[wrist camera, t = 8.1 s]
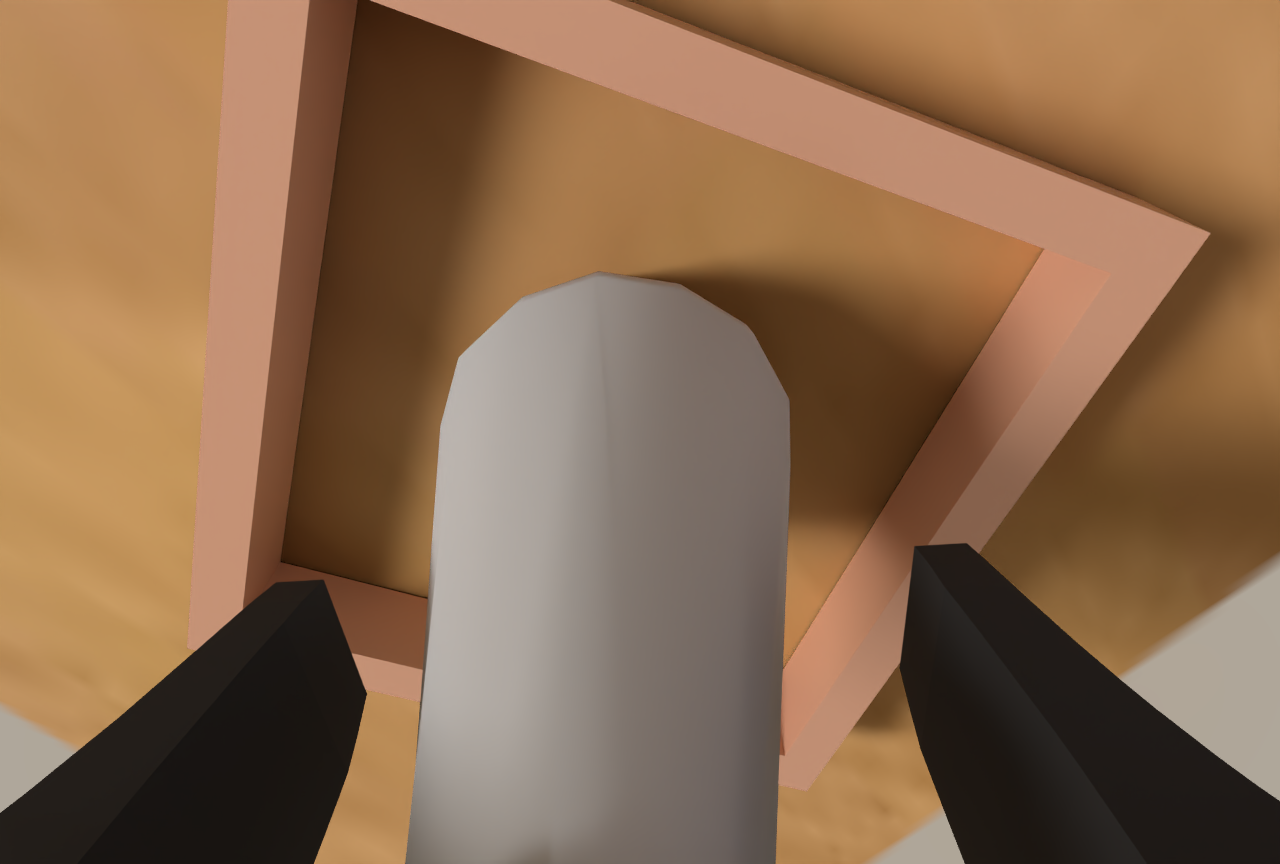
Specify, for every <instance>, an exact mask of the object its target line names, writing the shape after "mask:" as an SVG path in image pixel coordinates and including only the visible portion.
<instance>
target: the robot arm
mask: <svg viewBox="0 0 1280 864" xmlns="http://www.w3.org/2000/svg"><path fill="white" fill-rule="evenodd" d="M900 671H901V675H902V679H903V683H904V687H905V691H906V695H907V699H908V703H909V707H910V711H911V715H912V719H913V722H914V726H915V730H916V734H917V737H918V741H919V745H920V748H921V751H922V754H923V756H924V759H925V762H926V764H927V767H928V770H929V772H930V775H931V778H932V780H933V783H934V785H935V788H936V791H937V793H938V796H939V798H940V801H941V804H942V806H943V809H944V811H945V814H946V817H947V819H948V822H949V824H950V827H951V829H952V832H953V834H954V837H955V840H956V842H957V845H958V847H959V850H960V852H961V855H962V858H963V860H964V863H965V864H1280V801H1279V800H1277V799H1276V798H1274V797H1273V796H1271V795H1270V794H1268V793H1267V792H1266V791H1264V790H1263V789H1261V788H1260V787H1258V786H1257V785H1256V784H1254V783H1253V782H1252V781H1250V780H1249V779H1247V778H1246V777H1245V776H1243V775H1242V774H1241V773H1239V772H1238V771H1237V770H1235V769H1234V768H1232V767H1231V766H1230V765H1228V764H1227V763H1225V762H1224V761H1223V760H1222V759H1220V758H1219V757H1218V756H1216V755H1215V754H1214V753H1212V752H1211V751H1210V750H1208V749H1207V748H1206V747H1205V746H1203V745H1202V744H1201V743H1199V742H1198V741H1197V740H1196V739H1194V738H1193V737H1192V736H1190V735H1189V734H1188V733H1186V732H1185V731H1184V730H1183V729H1181V728H1180V727H1179V726H1177V725H1176V724H1175V723H1174V722H1172V721H1171V720H1169V719H1168V718H1167V717H1166V716H1165V715H1163V714H1162V713H1161V712H1159V711H1158V710H1156V709H1155V708H1154V707H1153V706H1152V705H1150V704H1149V703H1148V702H1147V701H1146V700H1144V699H1143V698H1142V697H1141V696H1140V695H1138V694H1137V693H1136V692H1135V691H1133V690H1132V689H1131V688H1130V687H1129V686H1127V685H1126V684H1125V683H1124V682H1122V681H1121V680H1120V679H1119V678H1118V677H1117V676H1115V675H1114V674H1113V673H1112V672H1111V671H1110V670H1108V669H1107V668H1106V667H1105V666H1104V665H1103V664H1101V663H1100V662H1099V661H1098V660H1097V659H1096V658H1094V657H1093V656H1092V655H1091V654H1090V653H1088V652H1087V651H1086V650H1085V649H1084V648H1083V647H1081V646H1080V645H1079V644H1078V643H1077V642H1076V641H1075V640H1073V639H1072V638H1071V637H1070V636H1069V635H1068V634H1067V633H1066V632H1064V631H1063V630H1062V629H1061V628H1060V627H1059V626H1058V625H1056V624H1055V623H1054V622H1053V621H1052V620H1051V619H1050V618H1049V617H1048V616H1047V615H1045V614H1044V613H1043V612H1042V611H1041V610H1040V609H1039V608H1038V607H1037V606H1035V605H1034V604H1033V603H1032V602H1031V601H1030V600H1029V599H1028V598H1027V597H1026V596H1024V595H1023V594H1022V593H1021V592H1020V591H1019V590H1018V589H1017V588H1016V587H1015V586H1013V585H1012V584H1011V583H1010V582H1009V581H1008V580H1007V579H1006V578H1005V577H1004V576H1003V575H1001V574H1000V573H999V572H998V571H997V570H996V569H995V568H994V567H993V566H992V565H991V564H989V563H988V562H987V561H986V560H985V559H984V558H983V557H982V556H981V555H980V554H978V553H977V552H976V551H975V550H974V549H973V548H972V547H971V546H970V545H968V544H967V543H958V544H940V545H923V546H914V553H913V562H912V570H911V578H910V586H909V595H908V603H907V611H906V619H905V627H904V636H903V644H902V652H901V660H900ZM366 696H367V693H366V690H365V687H364V685H363V682H362V679H361V677H360V674H359V671H358V669H357V666H356V663H355V661H354V658H353V656H352V653H351V650H350V648H349V645H348V642H347V640H346V637H345V634H344V632H343V629H342V626H341V624H340V621H339V618H338V616H337V613H336V611H335V608H334V605H333V603H332V600H331V597H330V595H329V592H328V589H327V587H326V584H325V581H324V580H307V581H289V582H276V583H275V584H273V585H272V586H271V587H270V588H268V589H267V590H266V591H264V592H263V593H262V594H261V595H260V596H258V597H257V598H256V599H255V600H253V601H252V602H251V603H250V604H249V605H248V606H246V607H245V608H244V609H243V610H242V611H241V612H239V613H238V614H237V615H236V616H235V617H234V618H233V619H231V620H230V621H229V622H228V623H227V624H226V625H224V626H223V627H222V628H221V629H220V630H219V631H218V632H217V633H215V634H214V635H213V636H212V637H211V638H210V639H209V640H207V641H206V642H205V643H204V644H203V645H202V646H201V647H200V648H198V649H197V650H196V651H195V652H194V653H193V654H192V655H190V656H189V657H188V658H187V659H186V660H185V661H184V662H182V663H181V664H180V665H179V666H178V667H177V668H176V669H174V670H173V671H172V672H171V673H170V674H169V675H167V676H166V677H165V678H164V679H163V680H162V681H161V682H159V683H158V684H157V685H156V686H155V687H154V688H152V689H151V690H150V691H149V692H148V693H147V694H146V695H144V696H143V697H142V698H141V699H140V700H139V701H137V702H136V703H135V704H134V705H133V706H132V707H131V708H129V709H128V710H127V711H126V712H125V713H124V714H122V715H121V716H120V717H119V718H118V719H117V720H115V721H114V722H113V723H112V724H110V725H109V726H108V727H107V728H105V729H104V730H103V731H102V732H101V733H99V734H98V735H97V736H96V737H94V738H93V739H92V740H91V741H89V742H88V743H87V744H86V745H85V746H83V747H82V748H81V749H80V750H78V751H77V752H76V753H75V754H73V755H72V756H71V757H70V758H69V759H67V760H66V761H65V762H64V763H62V764H61V765H60V766H59V767H58V768H56V769H55V770H54V771H53V772H51V773H50V774H49V775H48V776H46V777H45V778H44V779H43V780H42V781H40V782H39V783H38V784H37V785H35V786H34V787H33V788H32V789H30V790H29V791H28V792H27V793H26V794H24V795H23V796H22V797H20V798H19V799H18V800H16V801H15V802H14V803H13V804H11V805H10V806H9V807H7V808H6V809H5V810H3V811H2V812H1V813H0V864H314V862H315V859H316V856H317V854H318V851H319V849H320V846H321V843H322V841H323V838H324V836H325V833H326V830H327V828H328V825H329V822H330V820H331V817H332V814H333V812H334V809H335V806H336V804H337V801H338V798H339V796H340V793H341V790H342V787H343V785H344V782H345V779H346V776H347V774H348V770H349V766H350V762H351V758H352V755H353V751H354V747H355V743H356V739H357V735H358V731H359V726H360V722H361V718H362V713H363V709H364V704H365V700H366Z"/></svg>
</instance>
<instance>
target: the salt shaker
mask: <svg viewBox="0 0 1280 864" xmlns="http://www.w3.org/2000/svg"><path fill="white" fill-rule="evenodd" d="M789 493H790V400H789V398H788V396H787V394H786V392H785V391H784V389H783V387H782V385H781V383H780V381H779V379H778V378H777V376H776V374H775V372H774V370H773V368H772V366H771V365H770V363H769V361H768V359H767V357H766V355H765V353H764V352H763V350H762V348H761V346H760V344H759V342H758V340H757V339H756V337H755V335H754V333H753V332H752V331H751V330H750V329H749V327H748V326H747V325H746V324H745V323H743V322H742V321H740V320H738V319H737V318H735V317H733V316H732V315H730V314H728V313H727V312H725V311H723V310H722V309H720V308H719V307H717V306H715V305H714V304H712V303H710V302H709V301H707V300H705V299H704V298H702V297H700V296H699V295H697V294H696V293H694V292H692V291H691V290H689V289H687V288H686V287H684V286H682V285H681V284H678V283H671V282H665V281H658V280H652V279H646V278H639V277H633V276H626V275H620V274H614V273H607V272H601V271H598V272H595V273H592V274H589V275H586V276H583V277H580V278H577V279H574V280H571V281H568V282H565V283H562V284H559V285H556V286H553V287H550V288H547V289H544V290H542V291H539V292H536V293H533V294H530V295H527V296H524V297H522V298H521V299H520V300H519V301H518V302H517V303H516V304H515V305H513V306H512V307H511V308H510V309H509V310H508V311H507V312H506V313H505V314H504V315H503V316H502V317H501V318H500V319H499V320H497V321H496V322H495V323H494V324H493V325H492V326H491V327H490V328H489V329H488V330H487V331H486V332H485V333H484V334H483V335H481V336H480V337H479V338H478V339H477V340H476V341H475V342H474V343H473V344H472V345H471V346H470V347H469V348H468V349H467V350H466V351H465V352H464V353H463V354H462V355H461V356H460V357H459V358H458V362H457V366H456V370H455V373H454V377H453V381H452V385H451V388H450V392H449V396H448V400H447V403H446V407H445V411H444V415H443V419H442V422H441V426H440V440H439V454H438V467H437V481H436V495H435V508H434V522H433V535H432V549H431V563H430V576H429V590H428V603H427V617H426V631H425V644H424V658H423V672H422V685H421V699H420V712H419V726H418V740H417V753H416V767H415V777H414V786H413V796H412V805H411V815H410V824H409V834H408V843H407V853H406V862H405V864H775V860H776V834H777V808H778V781H779V755H780V729H781V703H782V676H783V650H784V624H785V598H786V571H787V545H788V519H789Z"/></svg>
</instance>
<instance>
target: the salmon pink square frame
mask: <svg viewBox="0 0 1280 864" xmlns="http://www.w3.org/2000/svg"><path fill="white" fill-rule="evenodd" d="M357 1H358V0H228V11H227V27H226V43H225V59H224V74H223V90H222V106H221V122H220V138H219V154H218V169H217V185H216V201H215V217H214V233H213V248H212V264H211V280H210V296H209V312H208V328H207V343H206V359H205V375H204V391H203V407H202V423H201V438H200V454H199V470H198V486H197V502H196V518H195V533H194V549H193V565H192V581H191V597H190V612H189V628H188V644H187V648H188V649H192V650H197V649H198V648H200V647H201V646H202V645H203V644H204V643H205V642H206V641H207V640H209V639H210V638H211V637H212V636H213V635H214V634H215V633H217V632H218V631H219V630H220V629H221V628H222V627H223V626H224V625H226V624H227V623H228V622H229V621H230V620H231V619H233V618H234V617H235V616H236V615H237V614H238V613H239V612H241V611H242V610H243V609H244V608H245V607H246V606H248V605H249V604H250V603H251V602H252V601H253V600H255V599H256V598H257V597H258V596H260V595H261V594H262V593H263V592H264V591H266V590H267V589H268V588H270V587H271V586H272V585H273V584H275V583H276V582H289V581H307V580H324V581H325V584H326V587H327V589H328V592H329V595H330V597H331V600H332V603H333V605H334V608H335V611H336V613H337V616H338V618H339V621H340V624H341V626H342V629H343V632H344V634H345V637H346V640H347V642H348V645H349V648H350V650H351V653H352V656H353V658H354V661H355V663H356V666H357V669H358V671H359V674H360V677H361V679H362V682H363V685H364V687H365V690H370V691H374V692H378V693H383V694H387V695H391V696H396V697H400V698H404V699H409V700H413V701H417V702H420V699H421V685H422V672H423V658H424V644H425V631H426V617H427V603H428V599H425V598H421V597H417V596H413V595H409V594H405V593H401V592H397V591H393V590H390V589H386V588H382V587H378V586H374V585H370V584H366V583H362V582H358V581H354V580H350V579H346V578H342V577H338V576H334V575H330V574H326V573H322V572H318V571H314V570H310V569H306V568H302V567H298V566H294V565H290V564H286V563H282V562H280V561H281V554H282V547H283V540H284V532H285V525H286V518H287V510H288V503H289V496H290V489H291V481H292V474H293V467H294V460H295V452H296V445H297V438H298V430H299V423H300V416H301V409H302V401H303V394H304V387H305V380H306V372H307V365H308V358H309V350H310V343H311V336H312V329H313V321H314V314H315V307H316V300H317V292H318V285H319V278H320V270H321V263H322V256H323V249H324V241H325V234H326V227H327V220H328V212H329V205H330V198H331V190H332V183H333V176H334V169H335V161H336V154H337V147H338V140H339V132H340V125H341V118H342V110H343V103H344V96H345V89H346V81H347V74H348V67H349V60H350V52H351V45H352V38H353V30H354V23H355V16H356V9H357ZM371 1H373V2H376V3H379V4H381V5H384V6H387V7H390V8H392V9H395V10H398V11H400V12H403V13H406V14H409V15H411V16H414V17H417V18H419V19H422V20H425V21H428V22H430V23H433V24H436V25H438V26H441V27H444V28H447V29H449V30H452V31H455V32H457V33H460V34H463V35H466V36H468V37H471V38H474V39H476V40H479V41H482V42H484V43H487V44H490V45H493V46H495V47H498V48H501V49H503V50H506V51H509V52H512V53H514V54H517V55H520V56H522V57H525V58H528V59H531V60H533V61H536V62H539V63H541V64H544V65H547V66H550V67H552V68H555V69H558V70H560V71H563V72H566V73H569V74H571V75H574V76H577V77H579V78H582V79H585V80H588V81H590V82H593V83H596V84H598V85H601V86H604V87H607V88H609V89H612V90H615V91H617V92H620V93H623V94H626V95H628V96H631V97H634V98H636V99H639V100H642V101H645V102H647V103H650V104H653V105H655V106H658V107H661V108H664V109H666V110H669V111H672V112H674V113H677V114H680V115H683V116H685V117H688V118H691V119H693V120H696V121H699V122H702V123H704V124H707V125H710V126H712V127H715V128H718V129H721V130H723V131H726V132H729V133H731V134H734V135H737V136H740V137H742V138H745V139H748V140H750V141H753V142H756V143H759V144H761V145H764V146H767V147H769V148H772V149H775V150H778V151H780V152H783V153H786V154H788V155H791V156H794V157H797V158H799V159H802V160H805V161H807V162H810V163H813V164H816V165H818V166H821V167H824V168H826V169H829V170H832V171H835V172H837V173H840V174H843V175H845V176H848V177H851V178H854V179H856V180H859V181H862V182H864V183H867V184H870V185H873V186H875V187H878V188H881V189H883V190H886V191H889V192H892V193H894V194H897V195H900V196H902V197H905V198H908V199H911V200H913V201H916V202H919V203H921V204H924V205H927V206H930V207H932V208H935V209H938V210H940V211H943V212H946V213H949V214H951V215H954V216H957V217H959V218H962V219H965V220H968V221H970V222H973V223H976V224H978V225H981V226H984V227H987V228H989V229H992V230H995V231H997V232H1000V233H1003V234H1006V235H1008V236H1011V237H1014V238H1016V239H1019V240H1022V241H1025V242H1027V243H1030V244H1033V245H1035V246H1038V247H1041V248H1044V250H1043V252H1042V254H1041V255H1040V257H1039V258H1038V260H1037V262H1036V263H1035V265H1034V266H1033V268H1032V270H1031V271H1030V273H1029V275H1028V276H1027V278H1026V279H1025V281H1024V283H1023V284H1022V286H1021V287H1020V289H1019V291H1018V292H1017V294H1016V296H1015V297H1014V299H1013V300H1012V302H1011V304H1010V305H1009V307H1008V308H1007V310H1006V312H1005V313H1004V315H1003V316H1002V318H1001V320H1000V321H999V323H998V325H997V326H996V328H995V329H994V331H993V333H992V334H991V336H990V337H989V339H988V341H987V342H986V344H985V346H984V347H983V349H982V350H981V352H980V354H979V355H978V357H977V358H976V360H975V362H974V363H973V365H972V366H971V368H970V370H969V371H968V373H967V375H966V376H965V378H964V379H963V381H962V383H961V384H960V386H959V387H958V389H957V391H956V392H955V394H954V395H953V397H952V399H951V400H950V402H949V404H948V405H947V407H946V408H945V410H944V412H943V413H942V415H941V416H940V418H939V420H938V421H937V423H936V425H935V426H934V428H933V429H932V431H931V433H930V434H929V436H928V437H927V439H926V441H925V442H924V444H923V445H922V447H921V449H920V450H919V452H918V454H917V455H916V457H915V458H914V460H913V462H912V463H911V465H910V466H909V468H908V470H907V471H906V473H905V474H904V476H903V478H902V479H901V481H900V483H899V484H898V486H897V487H896V489H895V491H894V492H893V494H892V495H891V497H890V499H889V500H888V502H887V504H886V505H885V507H884V508H883V510H882V512H881V513H880V515H879V516H878V518H877V520H876V521H875V523H874V524H873V526H872V528H871V529H870V531H869V533H868V534H867V536H866V537H865V539H864V541H863V542H862V544H861V545H860V547H859V549H858V550H857V552H856V553H855V555H854V557H853V558H852V560H851V562H850V563H849V565H848V566H847V568H846V570H845V571H844V573H843V574H842V576H841V578H840V579H839V581H838V583H837V584H836V586H835V587H834V589H833V591H832V592H831V594H830V595H829V597H828V599H827V600H826V602H825V603H824V605H823V607H822V608H821V610H820V612H819V613H818V615H817V616H816V618H815V620H814V621H813V623H812V624H811V626H810V628H809V629H808V631H807V632H806V634H805V636H804V637H803V639H802V641H801V642H800V644H799V645H798V647H797V649H796V650H795V652H794V653H793V655H792V657H791V658H790V660H789V662H788V663H787V665H786V666H785V668H784V670H783V676H782V703H781V729H780V755H779V781H778V785H781V786H786V787H790V788H794V789H799V790H803V791H807V790H808V789H809V787H810V786H811V785H812V783H813V782H814V781H815V779H816V778H817V776H818V775H819V774H820V772H821V771H822V769H823V768H824V767H825V765H826V764H827V763H828V761H829V760H830V758H831V757H832V756H833V754H834V753H835V752H836V750H837V749H838V747H839V746H840V745H841V743H842V742H843V740H844V739H845V738H846V736H847V735H848V734H849V732H850V731H851V729H852V728H853V727H854V725H855V724H856V723H857V721H858V720H859V718H860V717H861V716H862V714H863V713H864V711H865V710H866V709H867V707H868V706H869V705H870V703H871V702H872V700H873V699H874V698H875V696H876V695H877V694H878V692H879V691H880V689H881V688H882V687H883V685H884V684H885V682H886V681H887V680H888V678H889V677H890V676H891V674H892V673H893V671H894V670H895V669H896V667H897V666H898V665H899V663H900V660H901V652H902V644H903V636H904V627H905V619H906V611H907V603H908V595H909V586H910V578H911V570H912V562H913V553H914V546H923V545H940V544H958V543H967V544H968V545H970V546H971V547H972V548H973V549H974V550H975V551H976V552H977V553H978V554H979V553H980V551H981V550H982V548H983V547H984V546H985V544H986V543H987V542H988V540H989V539H990V537H991V536H992V535H993V533H994V532H995V531H996V529H997V528H998V526H999V525H1000V524H1001V522H1002V521H1003V519H1004V518H1005V517H1006V515H1007V514H1008V513H1009V511H1010V510H1011V508H1012V507H1013V506H1014V504H1015V503H1016V502H1017V500H1018V499H1019V497H1020V496H1021V495H1022V493H1023V492H1024V490H1025V489H1026V488H1027V486H1028V485H1029V484H1030V482H1031V481H1032V479H1033V478H1034V477H1035V475H1036V474H1037V473H1038V471H1039V470H1040V468H1041V467H1042V466H1043V464H1044V463H1045V461H1046V460H1047V459H1048V457H1049V456H1050V455H1051V453H1052V452H1053V450H1054V449H1055V448H1056V446H1057V445H1058V444H1059V442H1060V441H1061V439H1062V438H1063V437H1064V435H1065V434H1066V432H1067V431H1068V430H1069V428H1070V427H1071V426H1072V424H1073V423H1074V421H1075V420H1076V419H1077V417H1078V416H1079V415H1080V413H1081V412H1082V410H1083V409H1084V408H1085V406H1086V405H1087V403H1088V402H1089V401H1090V399H1091V398H1092V397H1093V395H1094V394H1095V392H1096V391H1097V390H1098V388H1099V387H1100V386H1101V384H1102V383H1103V381H1104V380H1105V379H1106V377H1107V376H1108V374H1109V373H1110V372H1111V370H1112V369H1113V368H1114V366H1115V365H1116V363H1117V362H1118V361H1119V359H1120V358H1121V356H1122V355H1123V354H1124V352H1125V351H1126V350H1127V348H1128V347H1129V345H1130V344H1131V343H1132V341H1133V340H1134V339H1135V337H1136V336H1137V334H1138V333H1139V332H1140V330H1141V329H1142V327H1143V326H1144V325H1145V323H1146V322H1147V321H1148V319H1149V318H1150V316H1151V315H1152V314H1153V312H1154V311H1155V310H1156V308H1157V307H1158V305H1159V304H1160V303H1161V301H1162V300H1163V298H1164V297H1165V296H1166V294H1167V293H1168V292H1169V290H1170V289H1171V287H1172V286H1173V285H1174V283H1175V282H1176V281H1177V279H1178V278H1179V276H1180V275H1181V274H1182V272H1183V271H1184V269H1185V268H1186V267H1187V265H1188V264H1189V263H1190V261H1191V260H1192V258H1193V257H1194V256H1195V254H1196V253H1197V252H1198V250H1199V249H1200V247H1201V246H1202V245H1203V243H1204V242H1205V240H1206V239H1207V238H1208V236H1209V235H1210V234H1211V233H1209V232H1207V231H1205V230H1203V229H1201V228H1199V227H1197V226H1195V225H1193V224H1191V223H1189V222H1187V221H1185V220H1182V219H1180V218H1178V217H1176V216H1174V215H1172V214H1170V213H1168V212H1166V211H1164V210H1162V209H1160V208H1158V207H1156V206H1154V205H1151V204H1149V203H1147V202H1145V201H1143V200H1141V199H1139V198H1137V197H1134V196H1131V195H1129V194H1126V193H1124V192H1121V191H1119V190H1116V189H1113V188H1111V187H1108V186H1106V185H1103V184H1101V183H1098V182H1095V181H1093V180H1090V179H1088V178H1085V177H1082V176H1080V175H1077V174H1075V173H1072V172H1070V171H1067V170H1064V169H1062V168H1059V167H1057V166H1054V165H1052V164H1049V163H1046V162H1044V161H1041V160H1039V159H1036V158H1034V157H1031V156H1028V155H1026V154H1023V153H1021V152H1018V151H1016V150H1013V149H1010V148H1008V147H1005V146H1003V145H1000V144H998V143H995V142H992V141H990V140H987V139H985V138H982V137H980V136H977V135H974V134H972V133H969V132H967V131H964V130H962V129H959V128H956V127H954V126H951V125H949V124H946V123H944V122H941V121H938V120H936V119H933V118H931V117H928V116H925V115H923V114H920V113H918V112H915V111H913V110H910V109H907V108H905V107H902V106H900V105H897V104H895V103H892V102H889V101H887V100H884V99H882V98H879V97H877V96H874V95H871V94H869V93H866V92H864V91H861V90H859V89H856V88H853V87H851V86H848V85H846V84H843V83H841V82H838V81H835V80H833V79H830V78H828V77H825V76H823V75H820V74H817V73H815V72H812V71H810V70H807V69H805V68H802V67H799V66H797V65H794V64H792V63H789V62H786V61H784V60H781V59H779V58H776V57H774V56H771V55H768V54H766V53H763V52H761V51H758V50H756V49H753V48H750V47H748V46H745V45H743V44H740V43H738V42H735V41H732V40H730V39H727V38H725V37H722V36H720V35H717V34H714V33H712V32H709V31H707V30H704V29H702V28H699V27H696V26H694V25H691V24H689V23H686V22H684V21H681V20H678V19H676V18H673V17H671V16H668V15H666V14H663V13H660V12H658V11H655V10H653V9H650V8H647V7H645V6H642V5H640V4H637V3H635V2H632V1H629V0H371Z"/></svg>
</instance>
